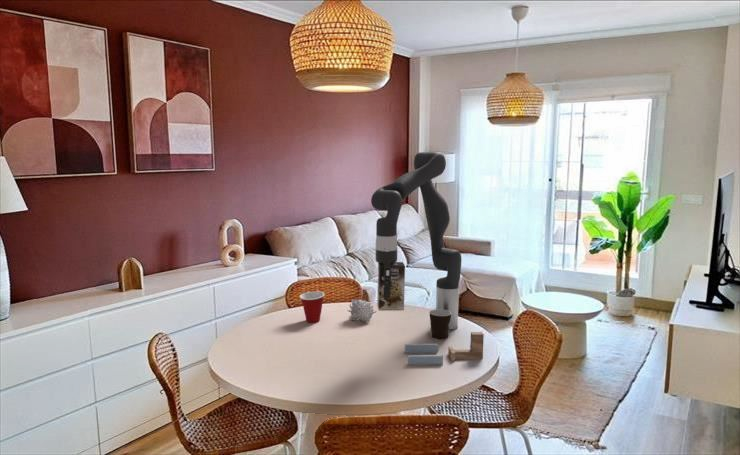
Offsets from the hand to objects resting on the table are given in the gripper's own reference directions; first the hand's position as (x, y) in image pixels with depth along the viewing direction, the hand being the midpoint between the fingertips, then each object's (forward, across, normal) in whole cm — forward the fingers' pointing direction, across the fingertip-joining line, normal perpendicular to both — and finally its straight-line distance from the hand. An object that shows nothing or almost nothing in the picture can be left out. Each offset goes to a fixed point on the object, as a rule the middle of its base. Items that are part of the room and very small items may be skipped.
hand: (386, 294), depth 181 cm
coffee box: (+5, 0, +2) cm, 5 cm away
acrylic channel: (+23, 0, +13) cm, 27 cm away
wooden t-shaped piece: (+24, 0, +29) cm, 37 cm away
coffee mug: (+24, -22, +24) cm, 40 cm away
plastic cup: (+24, -42, -29) cm, 56 cm away
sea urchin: (+24, -42, -8) cm, 49 cm away
